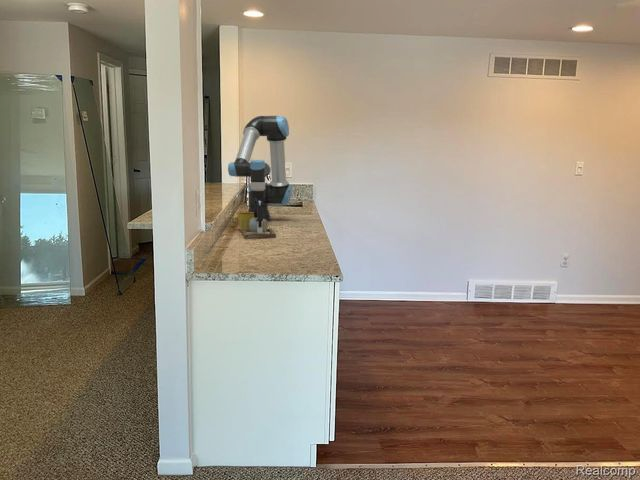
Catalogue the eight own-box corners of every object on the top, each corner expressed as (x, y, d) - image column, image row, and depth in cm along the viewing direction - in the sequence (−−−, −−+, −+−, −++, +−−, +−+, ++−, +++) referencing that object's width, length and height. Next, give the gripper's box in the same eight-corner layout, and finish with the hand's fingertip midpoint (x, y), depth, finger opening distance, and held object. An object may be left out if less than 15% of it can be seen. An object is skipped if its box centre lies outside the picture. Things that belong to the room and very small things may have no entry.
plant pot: (258, 229, 294) (258, 212, 292) (254, 232, 284) (254, 214, 282) (240, 228, 295) (240, 211, 293) (235, 231, 285) (235, 214, 283)
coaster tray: (241, 233, 280) (241, 229, 280) (271, 232, 284) (271, 228, 284) (244, 239, 265) (244, 234, 264) (275, 238, 269) (275, 233, 268)
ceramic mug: (263, 233, 269) (263, 219, 267) (248, 232, 271) (248, 218, 269) (270, 230, 279) (270, 216, 277) (256, 229, 281) (256, 215, 279)
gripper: (248, 187, 280) (248, 228, 284) (253, 192, 258) (254, 235, 262) (262, 187, 282) (262, 227, 286) (268, 192, 260) (268, 235, 264)
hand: (258, 231), depth 274 cm, fingers closed on ceramic mug, 11 cm apart
